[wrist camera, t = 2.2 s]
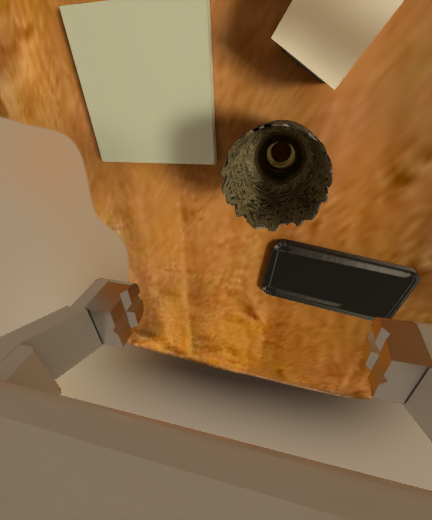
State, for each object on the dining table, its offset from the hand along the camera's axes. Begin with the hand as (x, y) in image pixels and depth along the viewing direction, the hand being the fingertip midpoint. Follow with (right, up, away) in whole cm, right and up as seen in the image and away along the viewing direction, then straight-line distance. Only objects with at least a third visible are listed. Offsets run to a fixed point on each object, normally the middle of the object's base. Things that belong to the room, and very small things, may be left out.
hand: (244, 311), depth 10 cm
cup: (+5, +12, +15) cm, 20 cm away
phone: (+12, 0, +22) cm, 26 cm away
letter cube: (+7, +18, +10) cm, 22 cm away
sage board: (-7, +17, +15) cm, 24 cm away
